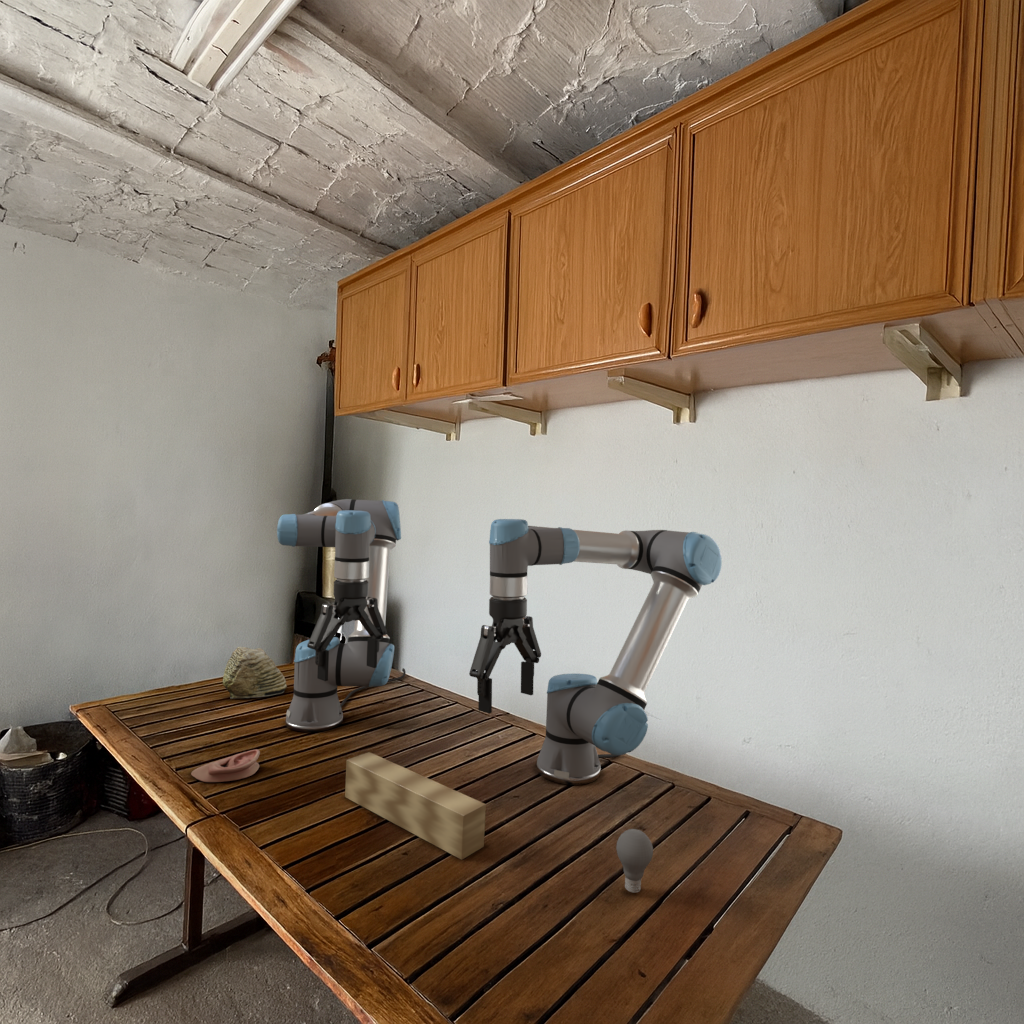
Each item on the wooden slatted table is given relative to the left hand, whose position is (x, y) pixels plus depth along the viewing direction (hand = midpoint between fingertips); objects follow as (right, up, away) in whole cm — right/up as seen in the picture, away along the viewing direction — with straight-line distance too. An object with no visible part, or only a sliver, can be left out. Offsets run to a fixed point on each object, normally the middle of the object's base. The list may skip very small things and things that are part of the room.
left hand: (348, 673), depth 143 cm
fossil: (-44, -21, +55) cm, 73 cm away
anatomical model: (-28, -23, 0) cm, 36 cm away
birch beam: (+17, -25, -17) cm, 35 cm away
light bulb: (+57, -27, -37) cm, 73 cm away
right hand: (+36, -2, -16) cm, 40 cm away
